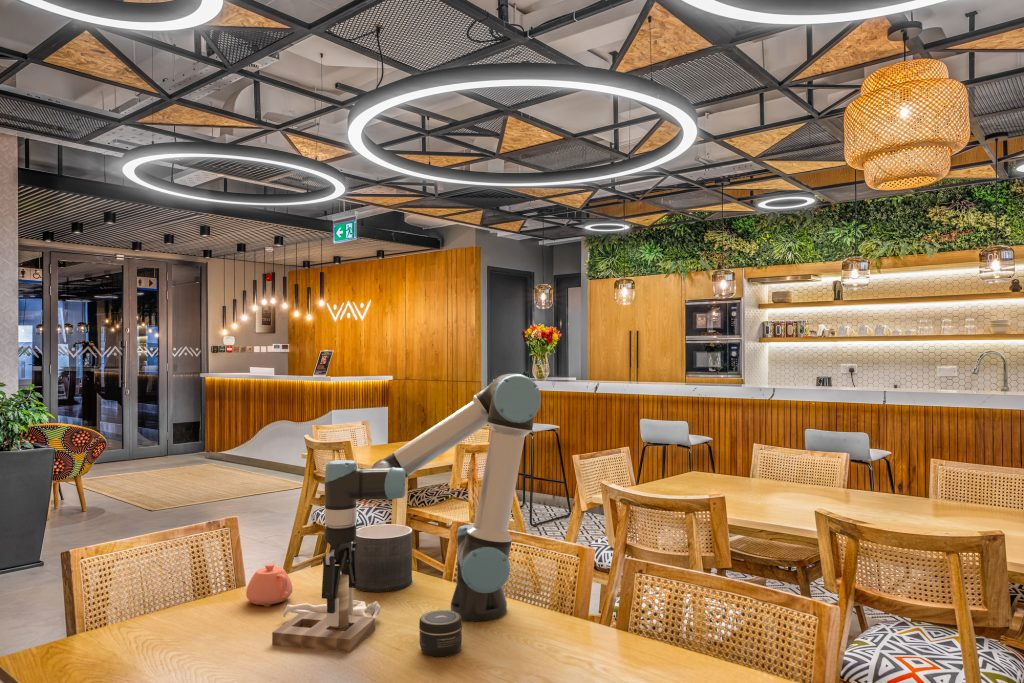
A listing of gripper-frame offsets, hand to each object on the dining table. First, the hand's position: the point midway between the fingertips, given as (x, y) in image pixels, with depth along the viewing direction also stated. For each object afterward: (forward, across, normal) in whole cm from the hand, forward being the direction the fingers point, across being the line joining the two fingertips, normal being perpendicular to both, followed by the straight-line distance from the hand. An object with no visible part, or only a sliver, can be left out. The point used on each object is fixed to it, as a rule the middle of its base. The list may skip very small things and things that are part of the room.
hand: (340, 619), depth 169 cm
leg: (+5, 0, 0) cm, 5 cm away
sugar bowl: (+5, -20, -31) cm, 37 cm away
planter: (+5, -42, -7) cm, 43 cm away
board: (+5, 0, -4) cm, 6 cm away
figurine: (+5, -10, -7) cm, 13 cm away
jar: (+5, +1, +26) cm, 26 cm away
